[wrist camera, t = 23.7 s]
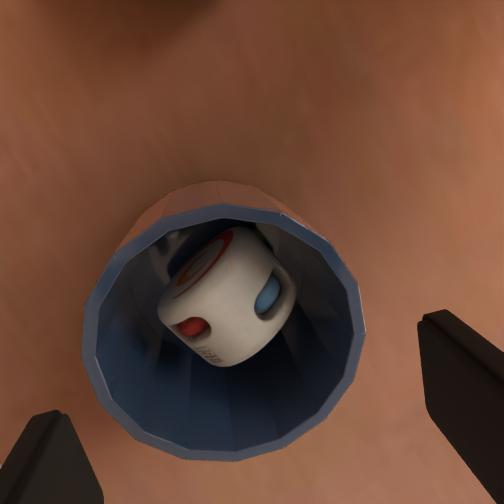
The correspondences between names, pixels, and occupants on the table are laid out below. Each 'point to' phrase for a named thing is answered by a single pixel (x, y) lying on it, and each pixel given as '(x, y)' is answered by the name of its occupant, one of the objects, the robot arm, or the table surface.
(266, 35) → the table surface
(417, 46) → the table surface
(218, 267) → the roller toy
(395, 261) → the table surface
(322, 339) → the cup
